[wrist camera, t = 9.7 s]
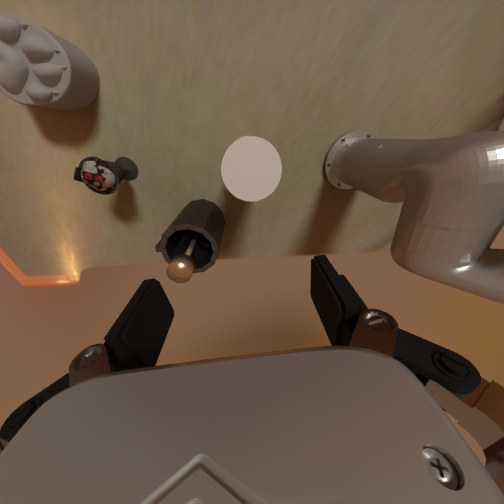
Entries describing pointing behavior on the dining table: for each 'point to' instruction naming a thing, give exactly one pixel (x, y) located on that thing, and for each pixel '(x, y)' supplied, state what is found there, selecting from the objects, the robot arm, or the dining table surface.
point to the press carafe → (179, 237)
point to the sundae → (105, 173)
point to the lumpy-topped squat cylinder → (43, 67)
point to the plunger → (183, 263)
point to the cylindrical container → (251, 168)
